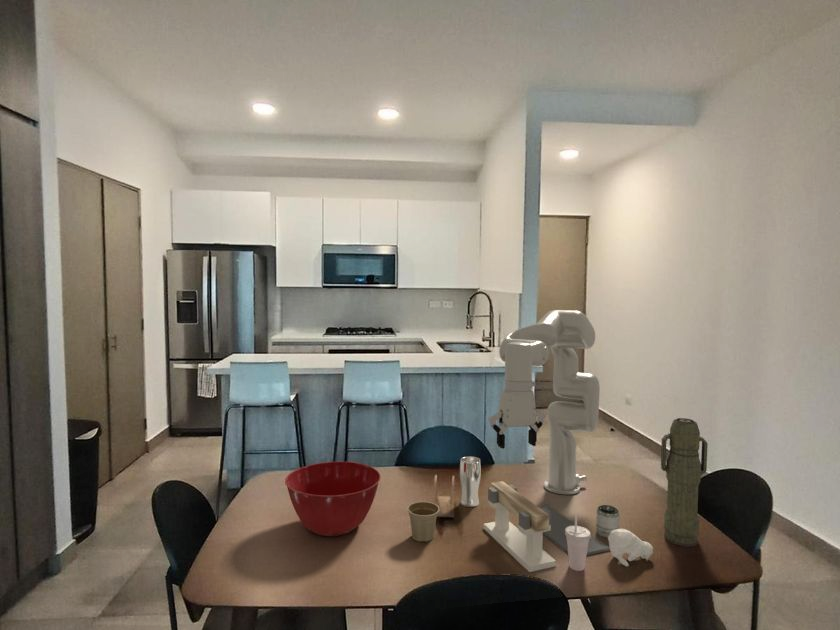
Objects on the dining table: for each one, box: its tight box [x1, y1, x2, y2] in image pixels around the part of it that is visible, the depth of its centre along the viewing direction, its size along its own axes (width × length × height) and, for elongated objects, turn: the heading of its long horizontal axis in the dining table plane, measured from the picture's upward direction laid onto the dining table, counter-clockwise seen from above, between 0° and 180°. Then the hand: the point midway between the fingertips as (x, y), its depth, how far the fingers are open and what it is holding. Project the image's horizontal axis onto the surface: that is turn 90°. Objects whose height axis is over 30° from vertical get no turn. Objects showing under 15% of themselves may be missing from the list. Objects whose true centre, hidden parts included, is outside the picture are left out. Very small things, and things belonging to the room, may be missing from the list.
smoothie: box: [565, 514, 592, 572], centre depth 133 cm, size 6×6×14 cm
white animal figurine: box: [607, 528, 654, 567], centre depth 137 cm, size 6×8×12 cm
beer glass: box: [459, 455, 482, 508], centre depth 172 cm, size 7×7×15 cm
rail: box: [490, 480, 549, 532], centre depth 144 cm, size 4×24×4 cm, turn 21°
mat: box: [537, 503, 610, 557], centre depth 154 cm, size 12×30×1 cm, turn 21°
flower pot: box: [406, 501, 440, 543], centre depth 149 cm, size 9×9×9 cm
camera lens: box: [595, 504, 620, 539], centre depth 152 cm, size 6×6×8 cm
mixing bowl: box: [284, 461, 382, 537], centre depth 156 cm, size 28×28×15 cm
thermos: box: [660, 417, 708, 547], centre depth 148 cm, size 9×12×35 cm
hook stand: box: [483, 483, 557, 573], centre depth 144 cm, size 8×25×14 cm, turn 21°
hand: (516, 445), depth 145 cm, fingers open, 9 cm apart
